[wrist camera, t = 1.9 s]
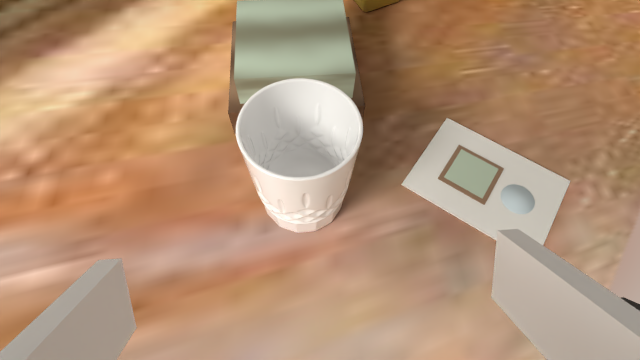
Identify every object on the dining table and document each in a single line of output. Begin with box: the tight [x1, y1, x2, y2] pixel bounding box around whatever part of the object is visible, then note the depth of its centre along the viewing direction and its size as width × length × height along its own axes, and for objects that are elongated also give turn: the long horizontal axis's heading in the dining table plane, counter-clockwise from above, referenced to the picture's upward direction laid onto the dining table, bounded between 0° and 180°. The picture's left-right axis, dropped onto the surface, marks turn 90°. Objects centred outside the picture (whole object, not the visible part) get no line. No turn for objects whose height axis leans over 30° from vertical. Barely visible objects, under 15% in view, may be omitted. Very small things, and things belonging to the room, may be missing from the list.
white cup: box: [236, 78, 363, 233], centre depth 27 cm, size 8×8×10 cm
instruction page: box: [402, 118, 570, 245], centre depth 32 cm, size 12×9×1 cm
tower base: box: [228, 0, 365, 134], centre depth 35 cm, size 12×12×6 cm
